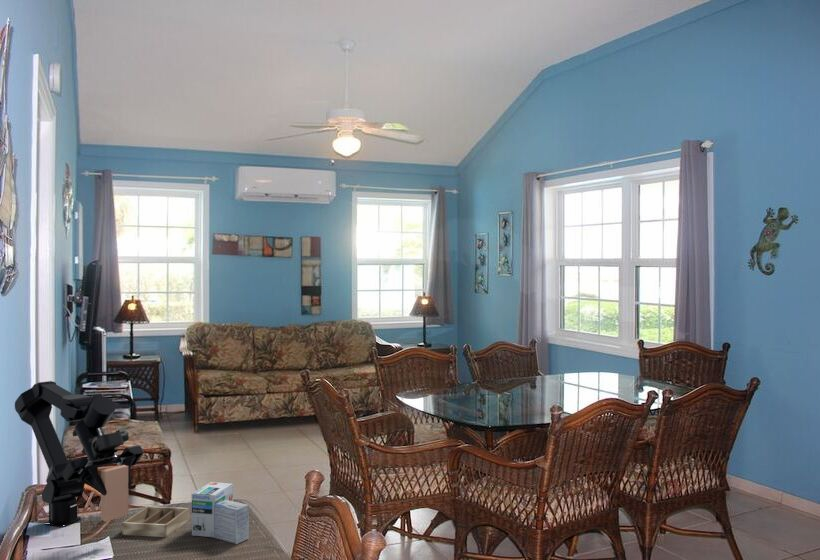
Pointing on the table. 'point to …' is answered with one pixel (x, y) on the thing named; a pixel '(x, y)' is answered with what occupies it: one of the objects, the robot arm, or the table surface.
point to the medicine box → (231, 521)
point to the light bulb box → (208, 506)
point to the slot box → (156, 521)
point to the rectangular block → (114, 493)
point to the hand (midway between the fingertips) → (117, 491)
